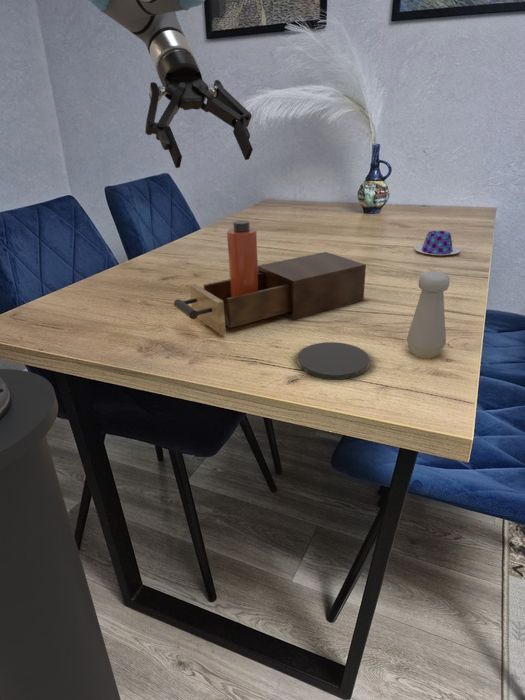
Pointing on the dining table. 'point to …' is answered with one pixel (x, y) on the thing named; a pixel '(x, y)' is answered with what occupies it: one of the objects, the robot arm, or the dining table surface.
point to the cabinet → (319, 282)
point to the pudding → (437, 244)
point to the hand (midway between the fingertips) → (215, 158)
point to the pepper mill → (242, 258)
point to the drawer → (236, 303)
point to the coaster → (333, 360)
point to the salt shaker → (429, 316)
